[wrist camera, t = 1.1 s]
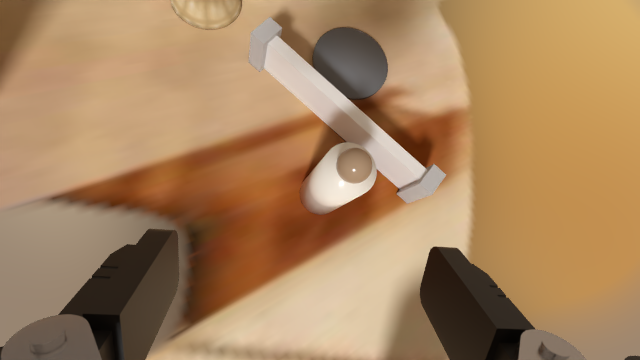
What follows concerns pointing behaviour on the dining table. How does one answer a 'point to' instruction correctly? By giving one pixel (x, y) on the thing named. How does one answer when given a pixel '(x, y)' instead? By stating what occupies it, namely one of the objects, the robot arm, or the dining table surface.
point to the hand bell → (207, 12)
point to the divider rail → (340, 113)
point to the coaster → (351, 62)
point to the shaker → (338, 178)
